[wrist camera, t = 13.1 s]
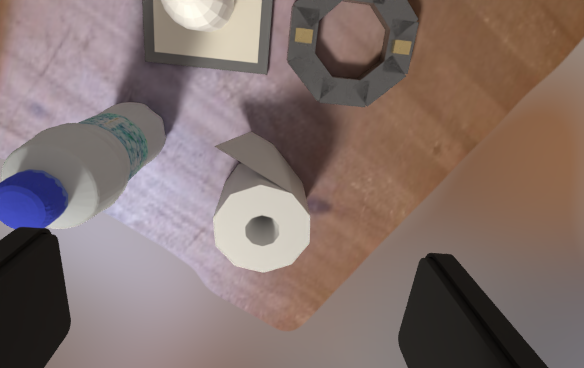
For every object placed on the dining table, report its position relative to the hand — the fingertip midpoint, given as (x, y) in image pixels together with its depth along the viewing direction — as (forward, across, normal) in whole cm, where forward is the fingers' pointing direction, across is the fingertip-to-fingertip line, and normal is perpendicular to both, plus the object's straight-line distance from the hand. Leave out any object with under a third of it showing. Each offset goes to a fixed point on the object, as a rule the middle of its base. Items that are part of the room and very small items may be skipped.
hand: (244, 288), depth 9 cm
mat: (+30, +6, -9) cm, 32 cm away
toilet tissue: (+31, 0, +9) cm, 32 cm away
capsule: (+30, +6, -9) cm, 32 cm away
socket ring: (+30, -8, -7) cm, 32 cm away
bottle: (+31, +13, +4) cm, 33 cm away
